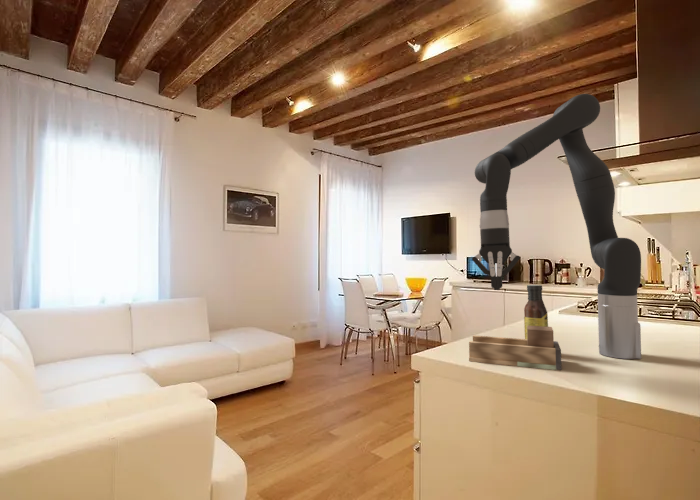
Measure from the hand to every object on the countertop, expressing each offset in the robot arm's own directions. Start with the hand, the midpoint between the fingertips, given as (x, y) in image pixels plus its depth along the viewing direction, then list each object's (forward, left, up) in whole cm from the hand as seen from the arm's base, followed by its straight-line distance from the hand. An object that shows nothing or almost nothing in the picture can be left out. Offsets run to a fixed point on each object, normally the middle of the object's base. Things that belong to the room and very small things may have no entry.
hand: (496, 289), depth 104 cm
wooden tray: (-4, 0, -19) cm, 20 cm away
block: (-10, 0, -18) cm, 21 cm away
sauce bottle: (-10, -11, -19) cm, 24 cm away
